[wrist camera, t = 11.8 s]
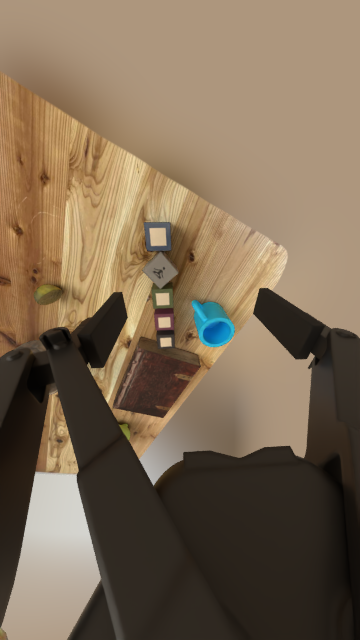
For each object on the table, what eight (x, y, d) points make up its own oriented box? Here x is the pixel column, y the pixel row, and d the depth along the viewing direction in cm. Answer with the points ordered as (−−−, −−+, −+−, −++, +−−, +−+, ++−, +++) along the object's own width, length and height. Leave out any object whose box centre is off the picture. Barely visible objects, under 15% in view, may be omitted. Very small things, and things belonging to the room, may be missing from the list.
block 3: (173, 305, 40) (173, 314, 36) (173, 320, 42) (174, 330, 38) (155, 306, 40) (154, 314, 36) (157, 321, 42) (155, 330, 38)
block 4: (173, 325, 43) (174, 334, 39) (174, 338, 45) (174, 348, 41) (157, 325, 43) (156, 335, 39) (158, 338, 45) (157, 349, 41)
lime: (63, 283, 35) (49, 291, 31) (67, 302, 38) (54, 312, 33) (42, 279, 35) (24, 286, 30) (46, 299, 37) (30, 308, 33)
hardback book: (140, 336, 44) (137, 348, 40) (197, 354, 49) (200, 366, 45) (115, 395, 57) (111, 408, 53) (163, 404, 62) (163, 417, 58)
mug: (229, 316, 43) (241, 333, 36) (205, 333, 45) (212, 352, 38) (203, 284, 38) (211, 297, 31) (178, 305, 40) (180, 321, 33)
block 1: (169, 222, 31) (170, 222, 27) (170, 247, 33) (171, 250, 29) (146, 222, 30) (143, 222, 26) (149, 248, 33) (146, 251, 29)
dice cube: (145, 265, 34) (142, 270, 30) (161, 248, 33) (160, 252, 29) (161, 281, 37) (160, 289, 32) (177, 267, 35) (178, 272, 31)
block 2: (172, 282, 37) (172, 289, 33) (172, 300, 39) (173, 308, 35) (153, 283, 37) (151, 289, 33) (154, 300, 39) (153, 309, 35)
